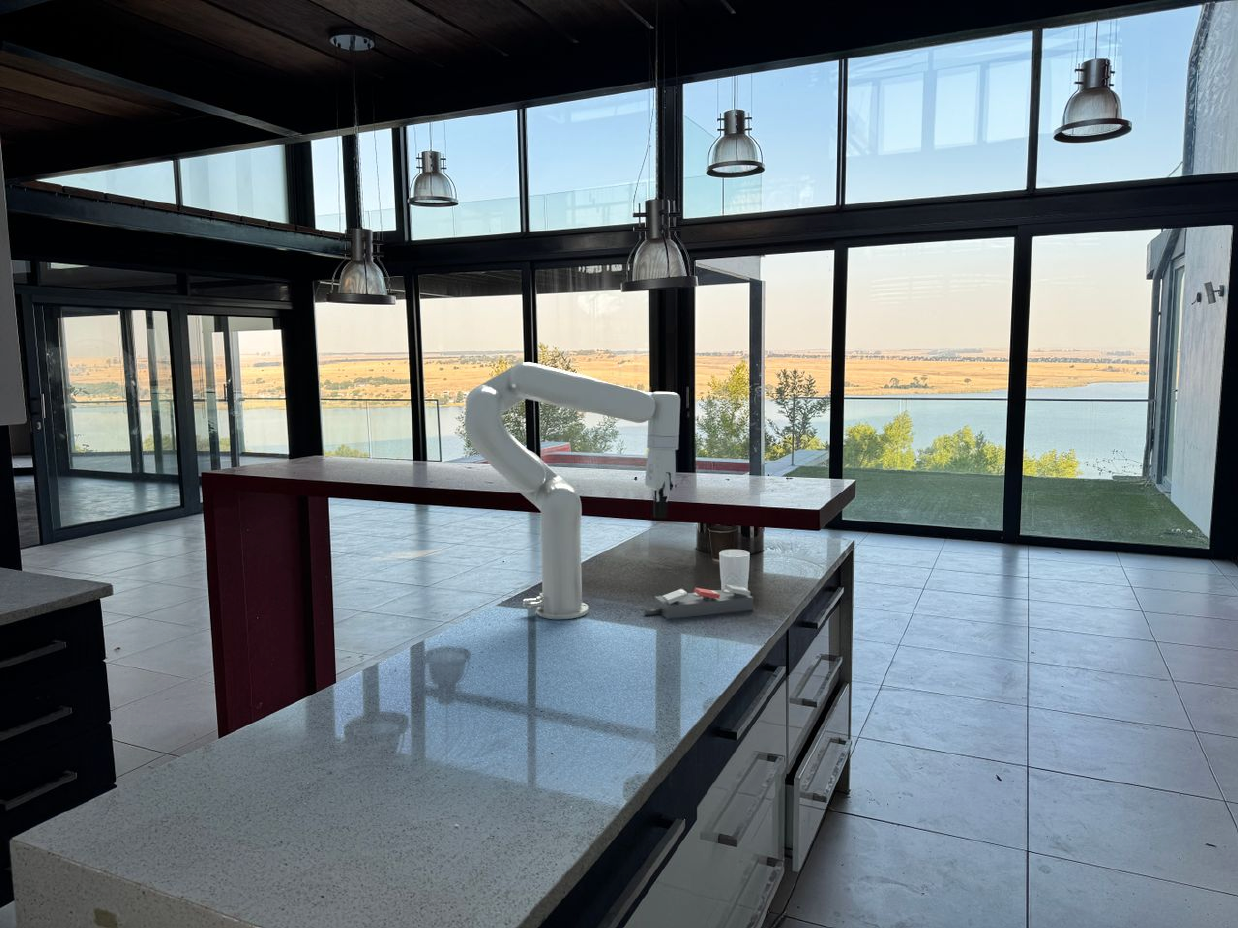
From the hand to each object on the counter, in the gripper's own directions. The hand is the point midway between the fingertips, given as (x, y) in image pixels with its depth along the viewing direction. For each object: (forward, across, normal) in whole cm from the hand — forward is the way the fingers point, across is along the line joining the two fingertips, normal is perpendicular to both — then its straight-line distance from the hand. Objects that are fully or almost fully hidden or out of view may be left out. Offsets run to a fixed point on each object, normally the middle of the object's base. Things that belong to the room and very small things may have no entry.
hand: (659, 517), depth 210 cm
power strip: (+22, +7, +8) cm, 24 cm away
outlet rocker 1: (+17, +9, +2) cm, 20 cm away
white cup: (+21, -6, +23) cm, 32 cm away
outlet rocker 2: (+17, +9, +10) cm, 22 cm away
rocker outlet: (+16, +9, +18) cm, 26 cm away
